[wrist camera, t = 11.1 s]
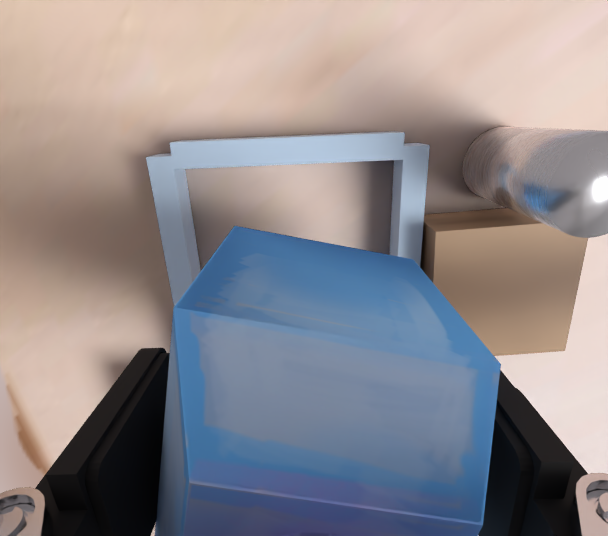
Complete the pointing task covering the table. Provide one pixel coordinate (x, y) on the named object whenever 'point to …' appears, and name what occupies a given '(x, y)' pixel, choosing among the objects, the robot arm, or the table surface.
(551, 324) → the brown cardboard box
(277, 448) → the perfume bottle
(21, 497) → the robot arm
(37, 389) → the table surface
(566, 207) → the cylinder
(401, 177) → the holder
